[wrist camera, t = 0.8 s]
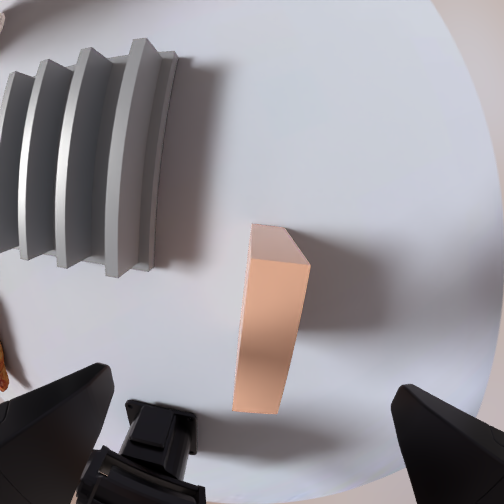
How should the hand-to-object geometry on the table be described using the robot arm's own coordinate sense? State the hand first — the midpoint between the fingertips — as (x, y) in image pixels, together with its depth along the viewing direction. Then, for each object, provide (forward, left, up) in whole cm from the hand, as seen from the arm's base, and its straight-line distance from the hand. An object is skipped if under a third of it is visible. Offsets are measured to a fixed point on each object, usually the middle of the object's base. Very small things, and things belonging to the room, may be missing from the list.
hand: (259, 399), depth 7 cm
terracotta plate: (0, 0, -11) cm, 11 cm away
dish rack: (+7, +13, -11) cm, 18 cm away
